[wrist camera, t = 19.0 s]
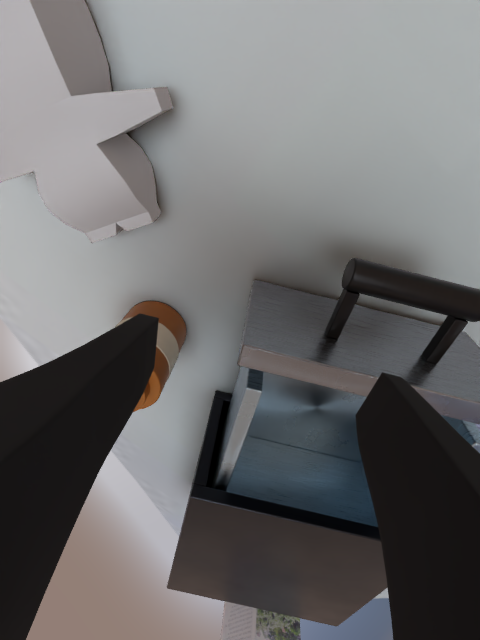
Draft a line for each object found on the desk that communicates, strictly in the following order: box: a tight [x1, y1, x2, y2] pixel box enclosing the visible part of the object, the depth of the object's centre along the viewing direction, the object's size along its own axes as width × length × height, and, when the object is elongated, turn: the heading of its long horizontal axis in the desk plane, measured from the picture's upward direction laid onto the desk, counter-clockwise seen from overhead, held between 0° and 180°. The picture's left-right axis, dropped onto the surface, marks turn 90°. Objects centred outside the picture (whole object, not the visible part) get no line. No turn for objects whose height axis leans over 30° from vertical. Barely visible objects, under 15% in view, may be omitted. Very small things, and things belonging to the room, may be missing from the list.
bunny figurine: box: [0, 0, 173, 243], centre depth 13 cm, size 10×5×15 cm
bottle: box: [116, 301, 186, 412], centre depth 19 cm, size 4×4×8 cm
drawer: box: [211, 258, 480, 527], centre depth 18 cm, size 17×13×7 cm
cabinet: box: [167, 391, 388, 626], centre depth 25 cm, size 15×15×9 cm
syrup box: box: [220, 601, 301, 640], centre depth 31 cm, size 6×6×14 cm
